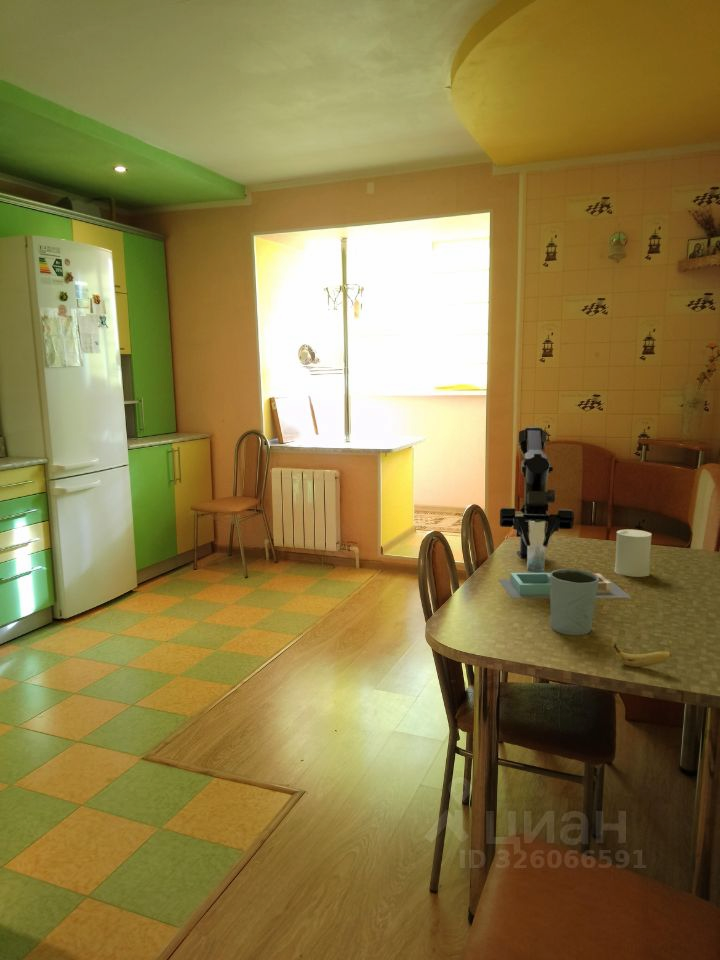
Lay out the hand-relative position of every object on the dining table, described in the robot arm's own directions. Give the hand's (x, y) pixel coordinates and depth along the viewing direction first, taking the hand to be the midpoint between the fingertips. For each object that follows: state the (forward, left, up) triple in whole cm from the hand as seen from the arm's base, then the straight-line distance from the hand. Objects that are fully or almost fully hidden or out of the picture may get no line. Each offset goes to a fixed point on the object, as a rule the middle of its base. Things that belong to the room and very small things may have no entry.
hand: (536, 545), depth 170 cm
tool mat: (-1, +7, -12) cm, 14 cm away
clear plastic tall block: (-1, 0, -7) cm, 7 cm away
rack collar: (-1, 0, -12) cm, 12 cm away
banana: (+46, +8, -12) cm, 48 cm away
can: (-15, +31, -12) cm, 37 cm away
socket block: (-1, +14, -12) cm, 18 cm away
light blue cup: (+26, +1, -12) cm, 29 cm away
